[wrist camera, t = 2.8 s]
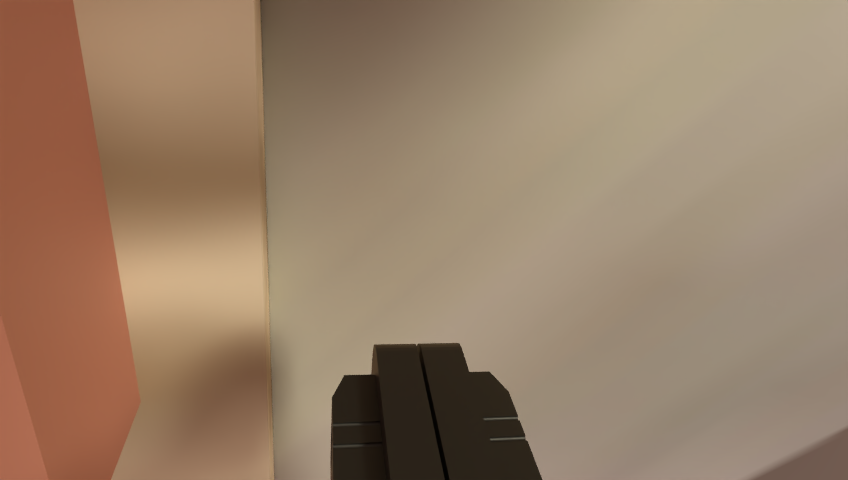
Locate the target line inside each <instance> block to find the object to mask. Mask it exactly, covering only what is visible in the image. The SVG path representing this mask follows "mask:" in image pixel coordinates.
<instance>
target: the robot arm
mask: <svg viewBox="0 0 848 480" xmlns="http://www.w3.org/2000/svg"><path fill="white" fill-rule="evenodd" d="M331 480H542V478H541V475H540V473H539V470H538V467H537V465H536V462H535V460H534V457H533V454H532V452H531V449H530V446H529V444H528V441H526V440H525V433H524V431H523V428H522V426H521V423H520V420H518V415H517V412H516V410H515V407H514V405H513V402H512V399H511V397H510V394H509V392H508V391H507V390H506V389H505V388H504V386H503V385H502V384H501V383H500V382H499V381H498V380H497V379H496V378H495V377H494V376H493V375H492V374H491V373H490V372H469V370H468V367H467V364H466V360H465V357H464V354H463V351H462V348H461V346H460V344H459V343H433V344H418V345H417V346H416V344H381V345H374V348H373V358H372V374H371V375H344V377H343V379H342V381H341V382H340V384H339V386H338V388H337V390H336V391H335V393H334V395H333V397H332V423H331Z"/></svg>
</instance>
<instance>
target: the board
mask: <svg viewBox="0 0 848 480" xmlns="http://www.w3.org/2000/svg"><path fill="white" fill-rule="evenodd" d="M73 4H74V10H75V16H76V22H77V27H78V33H79V39H80V45H81V51H82V57H83V63H84V69H85V75H86V81H87V87H88V93H89V99H90V104H91V110H92V116H93V122H94V128H95V134H96V140H97V146H98V152H99V158H100V164H101V170H102V176H103V182H104V187H105V193H106V199H107V205H108V211H109V217H110V223H111V229H112V235H113V241H114V247H115V253H116V259H117V265H118V270H119V276H120V282H121V288H122V294H123V300H124V306H125V312H126V318H127V324H128V330H129V336H130V342H131V348H132V353H133V359H134V365H135V371H136V377H137V383H138V389H139V395H140V401H141V403H140V405H139V408H138V410H137V413H136V416H135V418H134V421H133V423H132V426H131V429H130V431H129V434H128V437H127V439H126V442H125V444H124V447H123V450H122V452H121V455H120V457H119V460H118V463H117V465H116V468H115V470H114V473H113V476H112V478H111V480H274V456H273V421H272V386H271V352H270V317H269V282H268V247H267V213H266V178H265V143H264V108H263V74H262V39H261V4H260V0H73Z"/></svg>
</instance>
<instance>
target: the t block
mask: <svg viewBox="0 0 848 480" xmlns="http://www.w3.org/2000/svg"><path fill="white" fill-rule="evenodd" d="M140 403H141V401H140V395H139V389H138V383H137V377H136V371H135V365H134V359H133V353H132V348H131V342H130V336H129V330H128V324H127V318H126V312H125V306H124V300H123V294H122V288H121V282H120V276H119V270H118V265H117V259H116V253H115V247H114V241H113V235H112V229H111V223H110V217H109V211H108V205H107V199H106V193H105V187H104V182H103V176H102V170H101V164H100V158H99V152H98V146H97V140H96V134H95V128H94V122H93V116H92V110H91V104H90V99H89V93H88V87H87V81H86V75H85V69H84V63H83V57H82V51H81V45H80V39H79V33H78V27H77V22H76V16H75V10H74V4H73V0H0V480H111V478H112V476H113V473H114V470H115V468H116V465H117V463H118V460H119V457H120V455H121V452H122V450H123V447H124V444H125V442H126V439H127V437H128V434H129V431H130V429H131V426H132V423H133V421H134V418H135V416H136V413H137V410H138V408H139V405H140Z"/></svg>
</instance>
